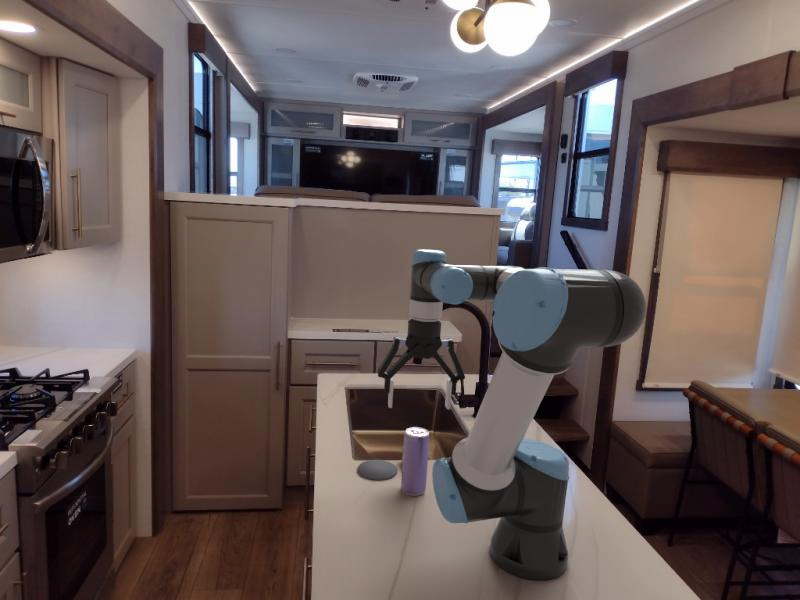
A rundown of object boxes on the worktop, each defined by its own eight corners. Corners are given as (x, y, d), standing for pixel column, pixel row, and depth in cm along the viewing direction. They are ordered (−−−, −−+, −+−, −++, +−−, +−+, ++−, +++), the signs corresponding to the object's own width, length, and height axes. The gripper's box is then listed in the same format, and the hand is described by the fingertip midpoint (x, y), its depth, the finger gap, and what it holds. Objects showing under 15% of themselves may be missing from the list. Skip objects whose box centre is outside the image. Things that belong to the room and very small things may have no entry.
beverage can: (425, 497, 136) (430, 437, 133) (400, 496, 136) (404, 435, 134) (425, 485, 142) (429, 427, 139) (401, 483, 142) (404, 426, 139)
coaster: (398, 480, 144) (398, 478, 143) (358, 480, 142) (358, 477, 142) (395, 462, 153) (395, 460, 153) (357, 461, 152) (357, 459, 152)
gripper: (475, 316, 137) (467, 402, 140) (369, 312, 134) (365, 399, 138) (482, 323, 129) (474, 413, 133) (371, 319, 127) (366, 411, 130)
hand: (418, 406), depth 135 cm, fingers open, 13 cm apart
